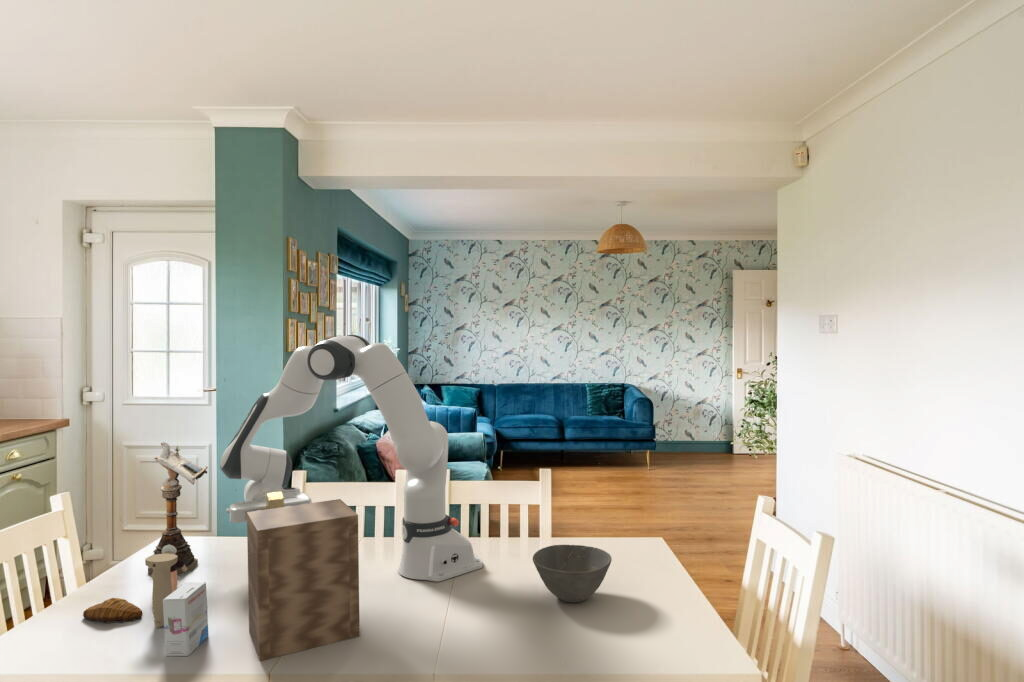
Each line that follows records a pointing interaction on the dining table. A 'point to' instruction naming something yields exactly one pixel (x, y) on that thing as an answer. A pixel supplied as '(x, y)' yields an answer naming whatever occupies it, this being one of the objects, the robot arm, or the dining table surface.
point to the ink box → (185, 619)
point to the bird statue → (170, 493)
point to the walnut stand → (302, 577)
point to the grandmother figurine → (172, 550)
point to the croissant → (113, 611)
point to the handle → (160, 582)
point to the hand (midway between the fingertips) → (276, 516)
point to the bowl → (572, 570)
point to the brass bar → (274, 500)
